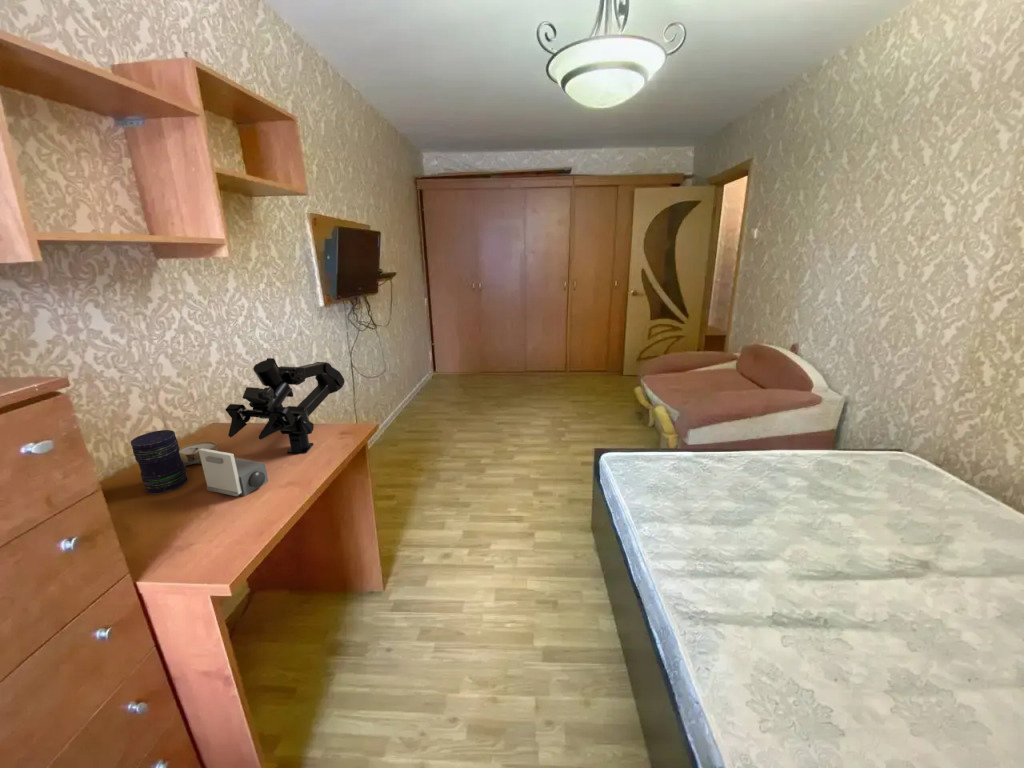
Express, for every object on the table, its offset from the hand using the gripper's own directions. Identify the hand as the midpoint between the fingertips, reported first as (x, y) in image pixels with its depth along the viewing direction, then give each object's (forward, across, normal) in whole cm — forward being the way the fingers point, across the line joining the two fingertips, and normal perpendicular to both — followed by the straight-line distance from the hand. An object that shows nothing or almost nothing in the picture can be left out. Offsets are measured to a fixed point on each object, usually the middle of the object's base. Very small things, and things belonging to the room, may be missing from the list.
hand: (244, 437), depth 120 cm
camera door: (+12, -4, +10) cm, 16 cm away
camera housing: (+7, -4, +13) cm, 15 cm away
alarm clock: (-3, -28, +18) cm, 34 cm away
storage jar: (+10, -24, +12) cm, 29 cm away
